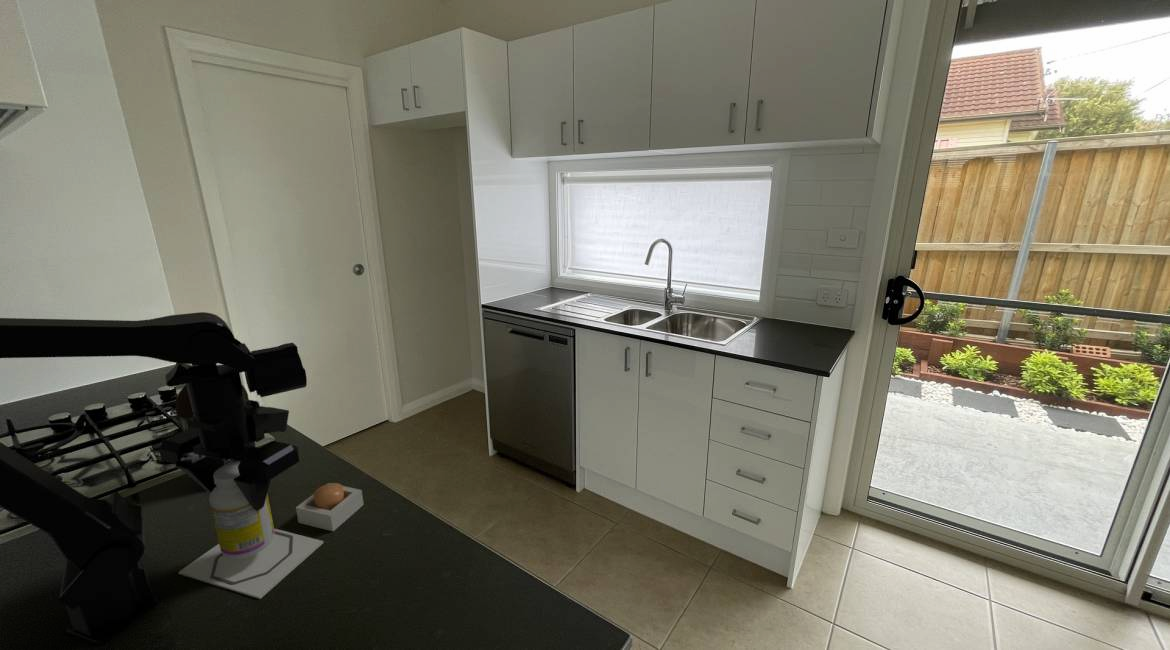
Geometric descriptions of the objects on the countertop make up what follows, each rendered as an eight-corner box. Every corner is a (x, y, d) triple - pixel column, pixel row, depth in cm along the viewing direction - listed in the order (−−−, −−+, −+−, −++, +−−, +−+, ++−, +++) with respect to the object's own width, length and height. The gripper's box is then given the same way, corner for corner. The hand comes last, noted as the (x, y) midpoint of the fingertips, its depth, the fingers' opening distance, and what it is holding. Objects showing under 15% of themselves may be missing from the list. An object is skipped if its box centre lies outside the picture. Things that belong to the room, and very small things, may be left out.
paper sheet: (260, 599, 64) (259, 596, 64) (178, 573, 68) (178, 571, 68) (323, 542, 74) (323, 540, 74) (249, 523, 78) (249, 521, 78)
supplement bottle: (245, 526, 74) (231, 454, 70) (285, 531, 73) (273, 458, 70) (208, 558, 68) (191, 481, 64) (252, 563, 67) (236, 486, 63)
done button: (331, 514, 78) (328, 501, 77) (309, 509, 79) (307, 496, 78) (350, 498, 82) (348, 485, 81) (329, 493, 83) (327, 481, 82)
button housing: (333, 531, 77) (330, 515, 76) (298, 522, 79) (295, 507, 78) (363, 504, 83) (361, 490, 82) (331, 497, 85) (328, 482, 84)
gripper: (322, 391, 69) (336, 483, 73) (225, 375, 74) (243, 463, 78) (252, 426, 59) (272, 531, 63) (144, 406, 64) (170, 504, 68)
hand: (241, 504), depth 68 cm, fingers closed on supplement bottle, 7 cm apart
